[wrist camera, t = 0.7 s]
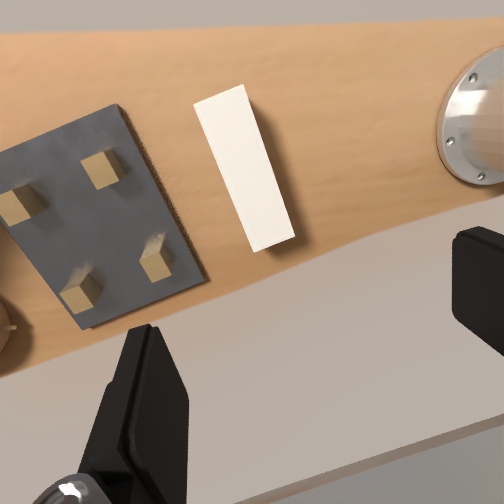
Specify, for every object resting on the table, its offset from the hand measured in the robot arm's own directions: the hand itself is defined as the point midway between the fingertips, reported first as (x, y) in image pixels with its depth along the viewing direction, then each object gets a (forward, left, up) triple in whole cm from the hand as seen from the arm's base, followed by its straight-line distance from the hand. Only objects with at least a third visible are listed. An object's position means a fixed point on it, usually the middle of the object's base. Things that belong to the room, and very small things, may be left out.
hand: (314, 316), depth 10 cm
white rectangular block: (-1, -1, -24) cm, 24 cm away
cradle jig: (+14, -1, -24) cm, 28 cm away
